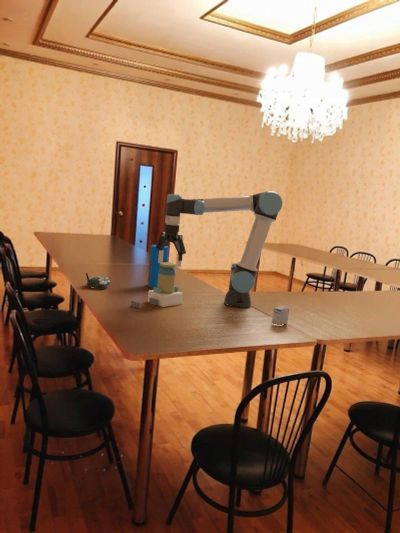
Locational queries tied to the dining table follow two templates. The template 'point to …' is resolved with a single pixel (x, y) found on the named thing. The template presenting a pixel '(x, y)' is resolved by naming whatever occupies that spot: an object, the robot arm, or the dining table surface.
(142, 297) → the dining table surface
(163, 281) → the jar
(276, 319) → the medicine box
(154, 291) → the block
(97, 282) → the communication device
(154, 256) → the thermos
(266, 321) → the dining table surface
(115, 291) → the dining table surface
